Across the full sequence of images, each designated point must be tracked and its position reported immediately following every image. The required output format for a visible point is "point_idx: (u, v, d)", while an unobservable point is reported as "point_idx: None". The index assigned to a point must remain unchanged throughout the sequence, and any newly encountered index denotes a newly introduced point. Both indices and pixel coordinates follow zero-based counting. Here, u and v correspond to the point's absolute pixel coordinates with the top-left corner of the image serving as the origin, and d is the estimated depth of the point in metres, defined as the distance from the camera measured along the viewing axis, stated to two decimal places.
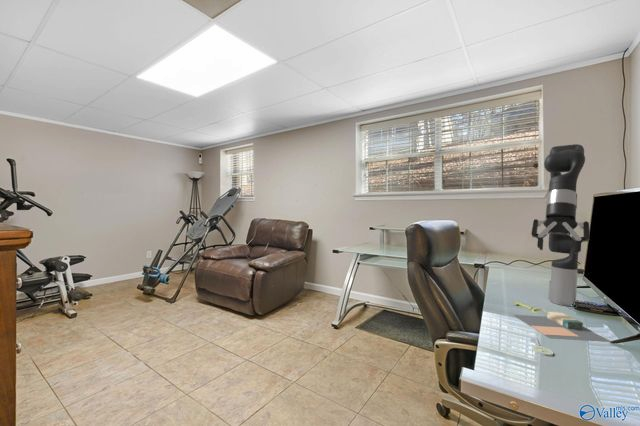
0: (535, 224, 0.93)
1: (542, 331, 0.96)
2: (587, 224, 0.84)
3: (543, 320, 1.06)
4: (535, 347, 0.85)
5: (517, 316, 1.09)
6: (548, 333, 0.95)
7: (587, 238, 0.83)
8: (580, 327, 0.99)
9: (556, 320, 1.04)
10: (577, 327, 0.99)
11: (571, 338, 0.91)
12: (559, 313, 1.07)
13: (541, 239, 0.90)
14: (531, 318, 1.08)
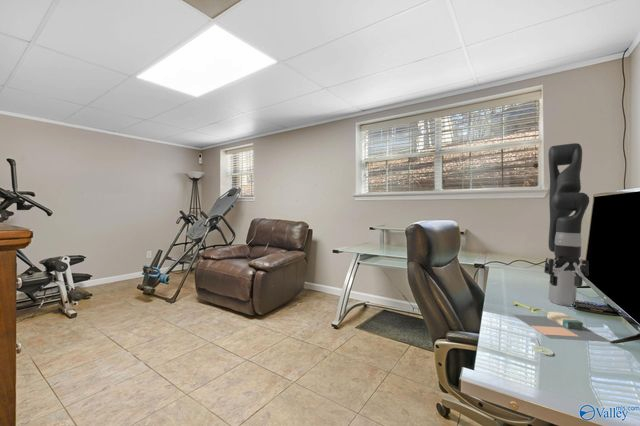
0: (551, 264, 1.03)
1: (542, 331, 0.96)
2: (587, 263, 1.01)
3: (543, 320, 1.06)
4: (535, 347, 0.85)
5: (517, 316, 1.09)
6: (548, 333, 0.95)
7: (587, 275, 1.02)
8: (580, 327, 0.99)
9: (556, 320, 1.04)
10: (577, 327, 0.99)
11: (571, 338, 0.91)
12: (559, 313, 1.07)
13: (556, 277, 1.03)
14: (531, 318, 1.08)
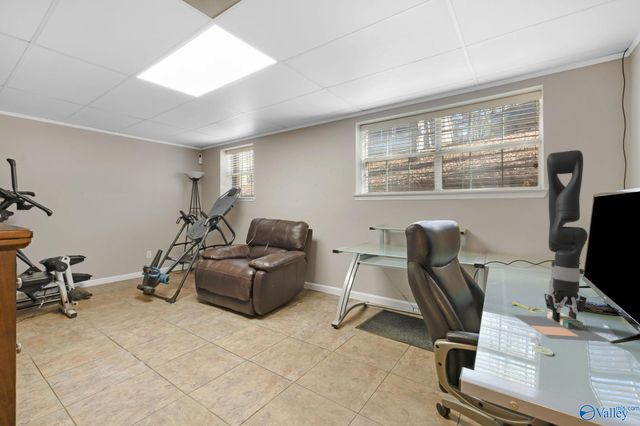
0: (551, 300, 1.03)
1: (542, 331, 0.96)
2: (585, 300, 1.02)
3: (543, 320, 1.06)
4: (535, 347, 0.85)
5: (517, 316, 1.09)
6: (548, 333, 0.95)
7: (581, 311, 1.02)
8: (580, 327, 0.99)
9: None
10: (577, 327, 0.99)
11: (571, 338, 0.91)
12: None
13: (559, 314, 1.03)
14: (531, 318, 1.08)
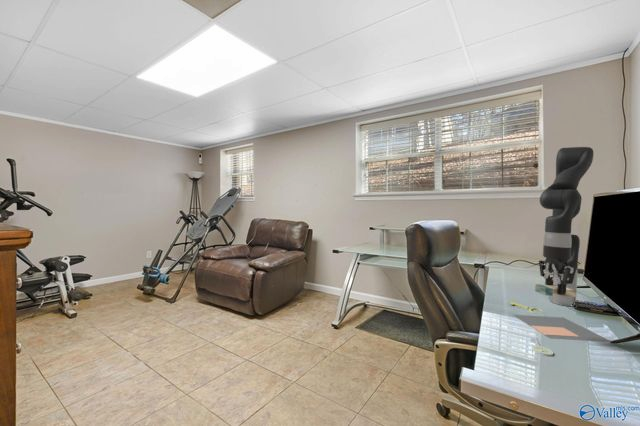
0: (540, 265, 1.02)
1: (542, 331, 0.96)
2: (567, 270, 0.90)
3: (543, 320, 1.06)
4: (535, 347, 0.85)
5: (517, 316, 1.09)
6: (548, 333, 0.95)
7: (563, 282, 0.91)
8: (543, 292, 0.95)
9: None
10: (541, 292, 0.96)
11: (571, 338, 0.91)
12: (567, 288, 0.95)
13: (546, 280, 0.99)
14: (531, 318, 1.08)
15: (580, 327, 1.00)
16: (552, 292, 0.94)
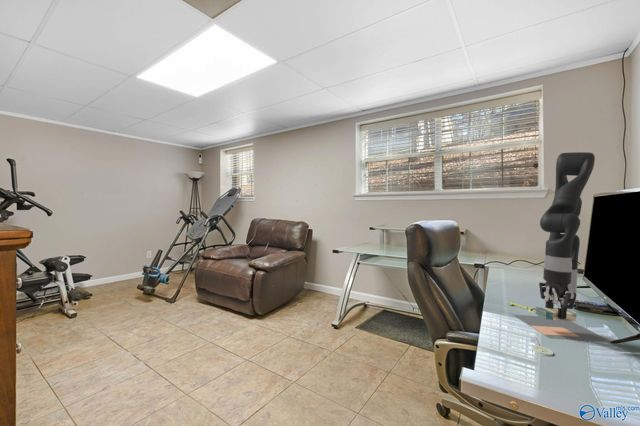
0: (540, 287, 1.02)
1: (542, 331, 0.96)
2: (567, 295, 0.90)
3: (543, 320, 1.06)
4: (535, 347, 0.85)
5: (517, 316, 1.09)
6: (548, 333, 0.95)
7: (564, 307, 0.91)
8: (544, 316, 0.95)
9: None
10: (542, 315, 0.96)
11: (571, 338, 0.91)
12: (567, 312, 0.95)
13: (546, 303, 0.99)
14: (531, 318, 1.08)
15: (580, 327, 1.00)
16: (552, 316, 0.94)
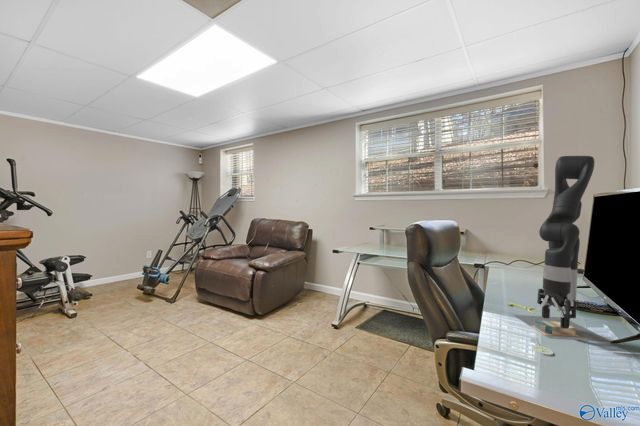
0: (539, 293, 1.03)
1: None
2: (567, 303, 0.90)
3: (543, 320, 1.06)
4: (535, 347, 0.85)
5: (517, 316, 1.09)
6: None
7: (567, 316, 0.90)
8: (543, 330, 0.95)
9: None
10: (541, 329, 0.96)
11: (571, 338, 0.91)
12: None
13: (542, 309, 1.01)
14: (531, 318, 1.08)
15: (580, 327, 1.00)
16: (551, 330, 0.94)
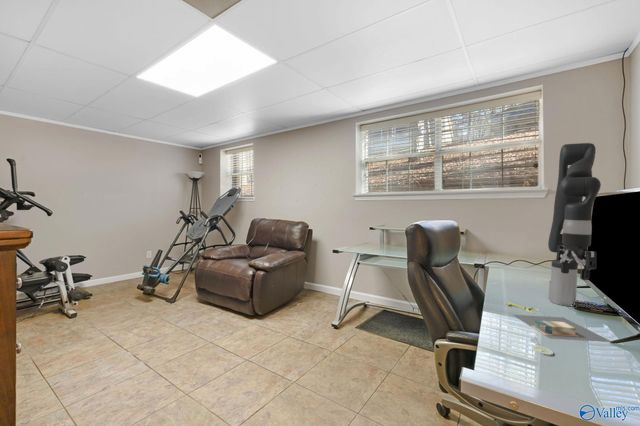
0: (558, 250, 1.04)
1: None
2: (587, 254, 0.91)
3: (543, 320, 1.06)
4: (535, 347, 0.85)
5: (517, 316, 1.09)
6: None
7: (587, 267, 0.91)
8: (543, 330, 0.95)
9: None
10: (541, 329, 0.96)
11: (571, 338, 0.91)
12: (566, 325, 0.95)
13: (562, 264, 1.02)
14: (531, 318, 1.08)
15: (580, 327, 1.00)
16: (551, 330, 0.94)
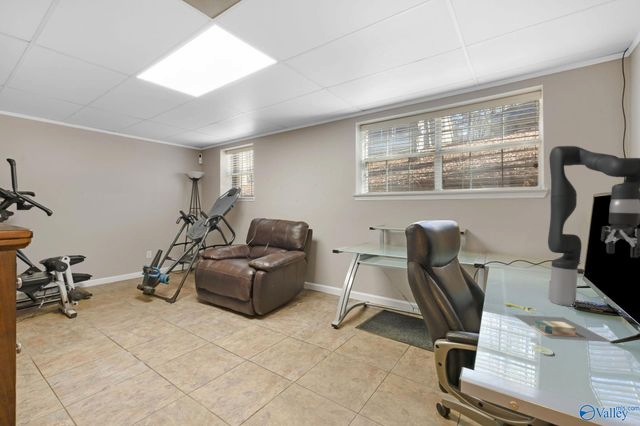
0: (603, 231, 1.06)
1: None
2: (639, 231, 0.93)
3: (543, 320, 1.06)
4: (535, 347, 0.85)
5: (517, 316, 1.09)
6: None
7: (639, 244, 0.93)
8: (543, 330, 0.95)
9: None
10: (541, 329, 0.96)
11: (571, 338, 0.91)
12: (566, 325, 0.95)
13: (607, 244, 1.04)
14: (531, 318, 1.08)
15: (580, 327, 1.00)
16: (551, 330, 0.94)
